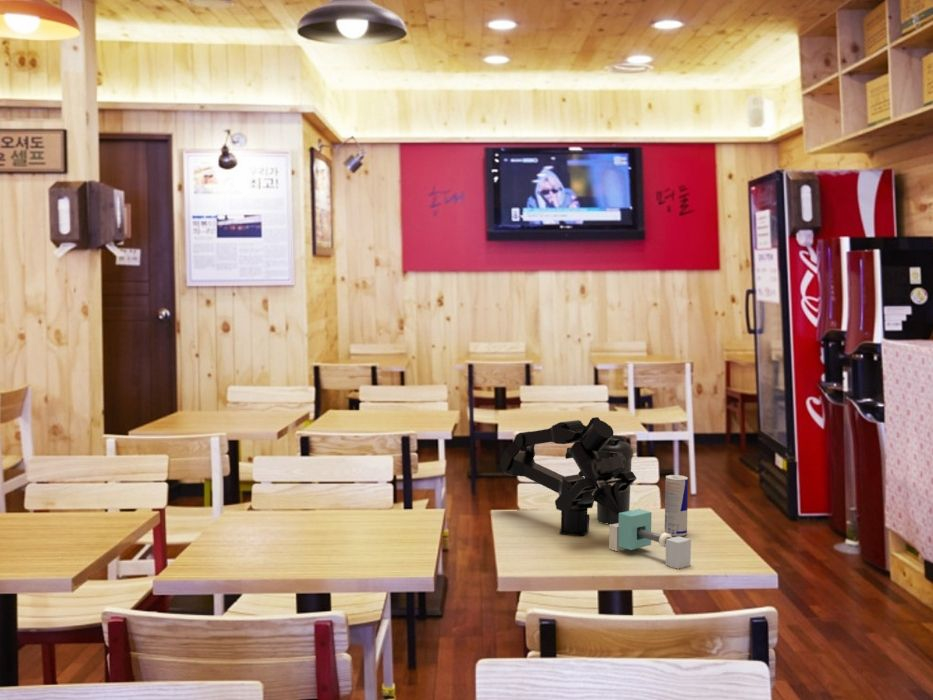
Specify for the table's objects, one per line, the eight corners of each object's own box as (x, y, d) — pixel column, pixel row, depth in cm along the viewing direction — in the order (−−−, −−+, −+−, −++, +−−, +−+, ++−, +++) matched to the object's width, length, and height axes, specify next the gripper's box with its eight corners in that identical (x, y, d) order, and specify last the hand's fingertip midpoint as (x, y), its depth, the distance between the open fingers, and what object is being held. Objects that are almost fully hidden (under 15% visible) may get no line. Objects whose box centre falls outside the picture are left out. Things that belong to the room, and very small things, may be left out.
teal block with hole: (618, 546, 214) (618, 513, 214) (638, 541, 219) (638, 508, 218) (630, 549, 211) (631, 516, 211) (650, 544, 215) (651, 512, 215)
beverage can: (687, 537, 227) (688, 479, 226) (664, 536, 228) (665, 478, 227) (686, 532, 232) (687, 474, 231) (664, 530, 233) (665, 474, 232)
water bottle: (587, 522, 242) (588, 437, 240) (604, 514, 250) (605, 432, 249) (622, 527, 236) (623, 441, 235) (638, 519, 245) (639, 436, 243)
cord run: (609, 549, 217) (609, 522, 216) (629, 544, 221) (629, 517, 221) (673, 570, 201) (674, 541, 200) (694, 564, 205) (694, 536, 205)
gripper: (577, 447, 216) (610, 500, 208) (631, 439, 227) (664, 490, 219) (555, 474, 223) (586, 527, 215) (608, 465, 234) (639, 515, 226)
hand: (620, 514), depth 218 cm, fingers closed
